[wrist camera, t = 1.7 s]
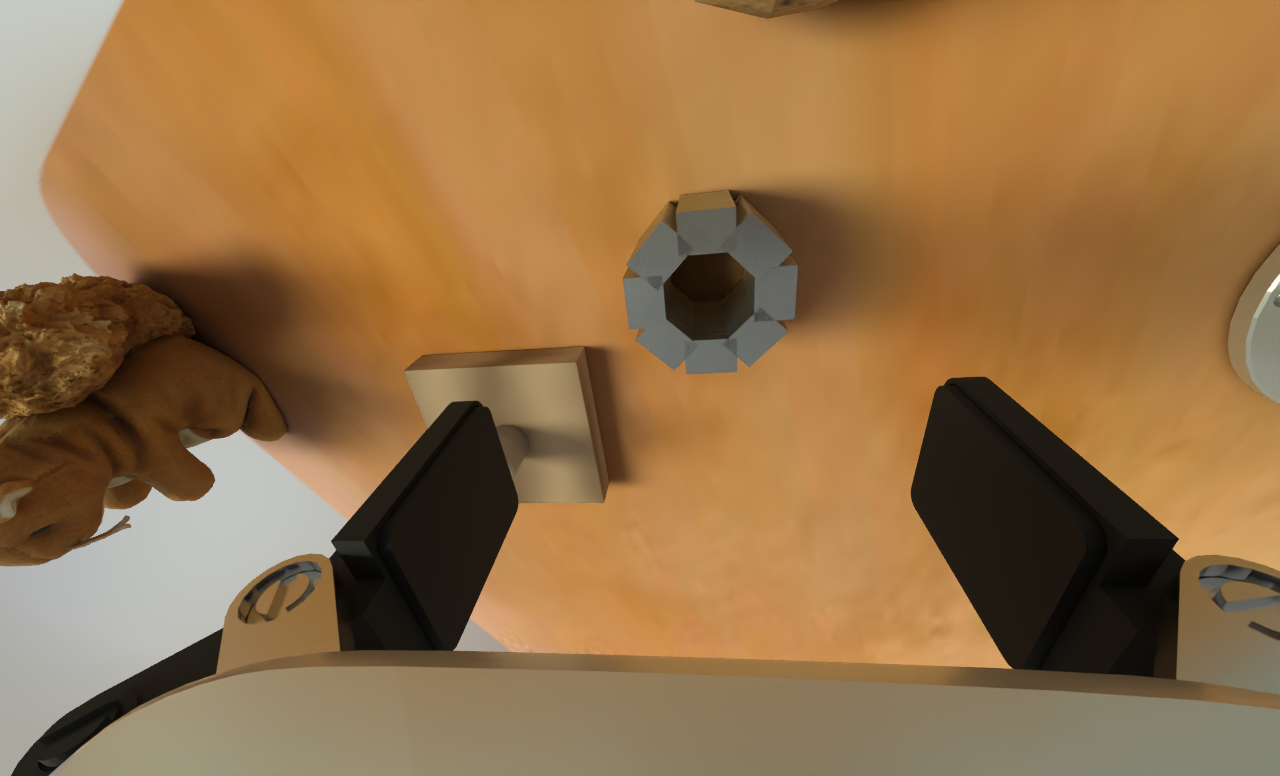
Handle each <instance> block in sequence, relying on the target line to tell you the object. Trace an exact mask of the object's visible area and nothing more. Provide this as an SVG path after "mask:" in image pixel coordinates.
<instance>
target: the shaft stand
mask: <svg viewBox="0 0 1280 776" xmlns="http://www.w3.org/2000/svg"><path fill="white" fill-rule="evenodd" d="M404 373H405V376H406V378H407V381H408V383H409V385H410V388H411V390H412V393H413V395H414V397H415V400H416V402H417V405H418V407H419V410H420V412H421V414H422V417H423V419H424V422H425V424H426V427H427V429H428V428H429V427H430V426H431V425H432V423H433V422H434V421H435V420H436V419H437V418H438V416H439V415H440V414H441V413H442V412H443V411H444V409H445V408H446V407H447V406H448V405H449V404H450V403H451V402H455V401H479V402H480V403H481V404H482V405H483V407H484V406H486V407H488V408H489V409H490V411H491V414H492V417H493V420H494V423H495V426H496V429H497V432H498V436H499V439H500V442H501V445H502V448H503V451H504V454H505V457H506V460H507V463H508V467H509V470H510V473H511V476H512V479H513V482H514V485H515V488H516V491H517V495H518V503H604V501H605V497H606V493H607V489H608V485H609V477H608V472H607V466H606V461H605V456H604V450H603V445H602V439H601V434H600V429H599V423H598V418H597V413H596V407H595V402H594V396H593V391H592V386H591V380H590V375H589V369H588V364H587V359H586V353H585V348H584V346H583V347H565V348H547V349H529V350H511V351H493V352H475V353H457V354H439V355H422V356H421V357H420V358H419V359H417V360H416V361H415V362H414V363H413V364H411V365H410V366H409V367H408V368H407V369H405V370H404Z"/></svg>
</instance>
